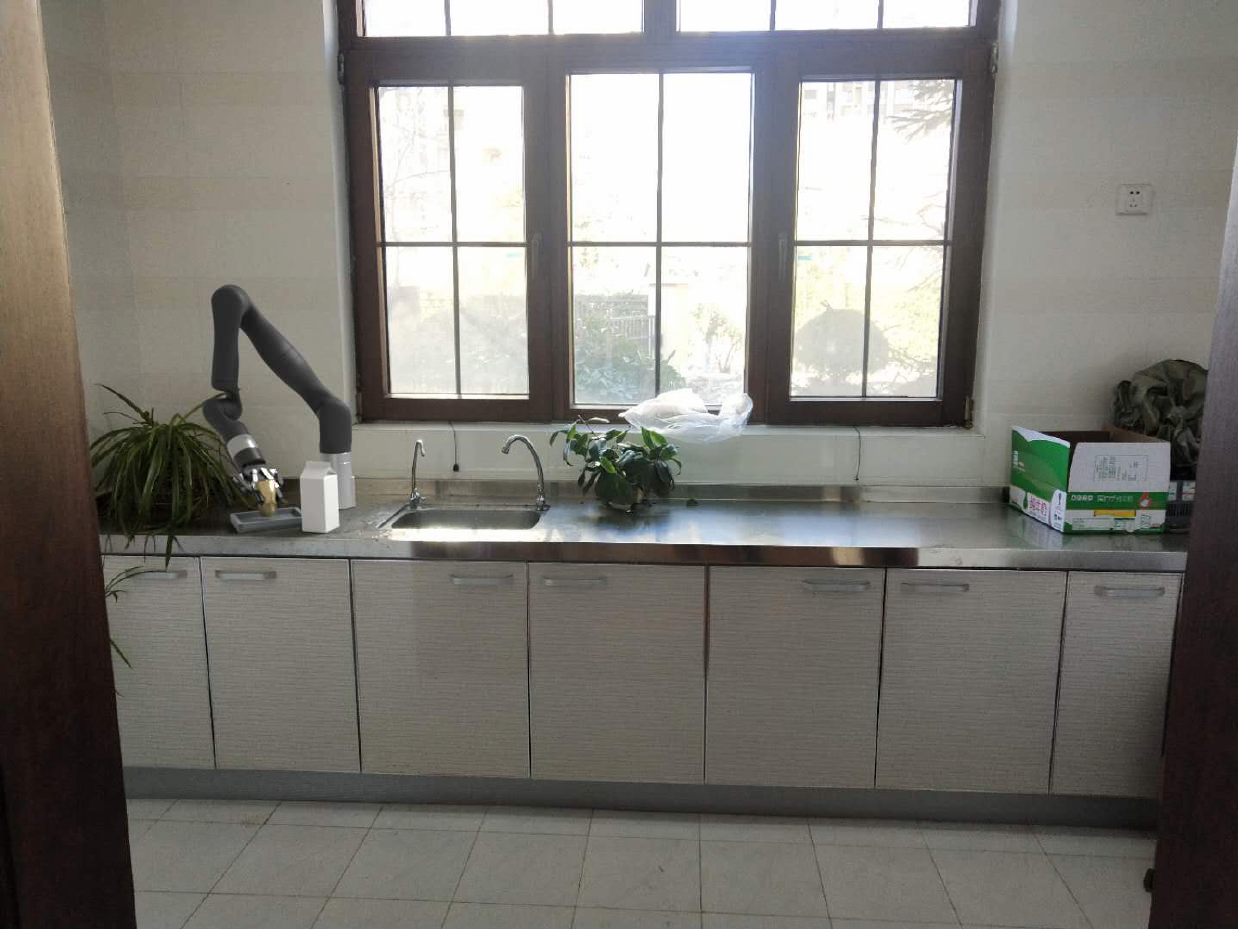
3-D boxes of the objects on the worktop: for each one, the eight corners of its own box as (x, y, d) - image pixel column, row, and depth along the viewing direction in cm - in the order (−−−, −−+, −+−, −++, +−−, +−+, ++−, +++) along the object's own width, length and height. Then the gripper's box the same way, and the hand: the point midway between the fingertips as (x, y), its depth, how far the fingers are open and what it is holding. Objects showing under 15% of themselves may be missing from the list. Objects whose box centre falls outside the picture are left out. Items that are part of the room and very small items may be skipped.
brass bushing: (271, 512, 241) (269, 478, 239) (280, 515, 239) (278, 480, 237) (256, 515, 238) (254, 480, 236) (264, 517, 235) (263, 482, 233)
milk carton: (325, 533, 229) (322, 464, 226) (302, 531, 231) (298, 463, 227) (339, 527, 236) (336, 460, 233) (316, 525, 238) (313, 459, 234)
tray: (297, 515, 249) (296, 506, 249) (308, 525, 237) (308, 516, 237) (230, 522, 239) (230, 513, 239) (239, 533, 228) (238, 524, 227)
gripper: (225, 448, 234) (251, 498, 229) (273, 443, 245) (299, 490, 240) (217, 465, 238) (242, 514, 233) (264, 459, 249) (289, 505, 244)
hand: (271, 501), depth 236 cm, fingers closed on brass bushing, 4 cm apart
